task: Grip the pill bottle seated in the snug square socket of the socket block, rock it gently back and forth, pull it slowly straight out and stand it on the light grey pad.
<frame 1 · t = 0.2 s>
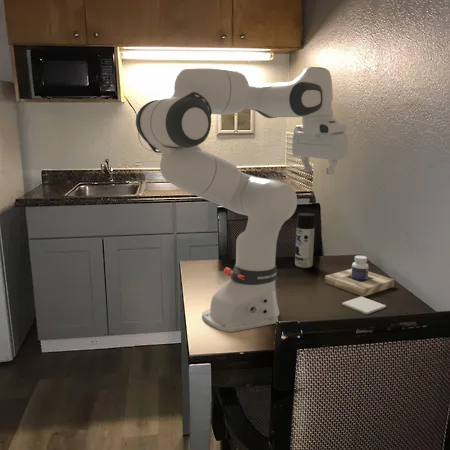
hand: (318, 172, 141), 39 cm above the table, tool pointing down, fingers open, 8 cm apart
socket block: (358, 284, 160), on the table
pill bottle: (358, 285, 160), resting in socket block
pad: (363, 305, 141), on the table
spray can: (303, 266, 180), on the table
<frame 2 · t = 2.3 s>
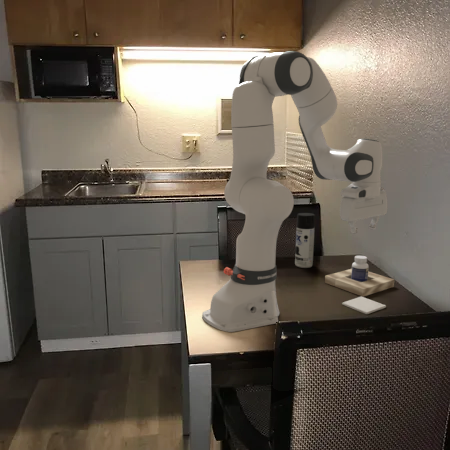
hand: (363, 231, 156), 19 cm above the table, tool pointing down, fingers open, 8 cm apart
nothing on the table moved.
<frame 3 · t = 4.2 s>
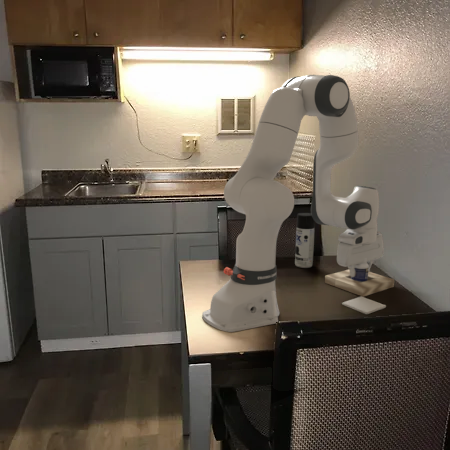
hand: (359, 274, 159), 4 cm above the table, tool pointing down, fingers closed on pill bottle, 5 cm apart
pill bottle: (358, 285, 160), resting in socket block, touching gripper
everything else where it was.
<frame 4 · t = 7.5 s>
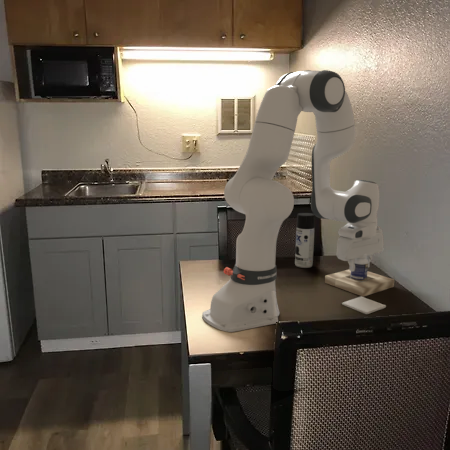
hand: (359, 269, 158), 6 cm above the table, tool pointing down, fingers closed on pill bottle, 5 cm apart
pill bottle: (358, 281, 159), point 1 cm above the table, touching gripper
everything else where it was.
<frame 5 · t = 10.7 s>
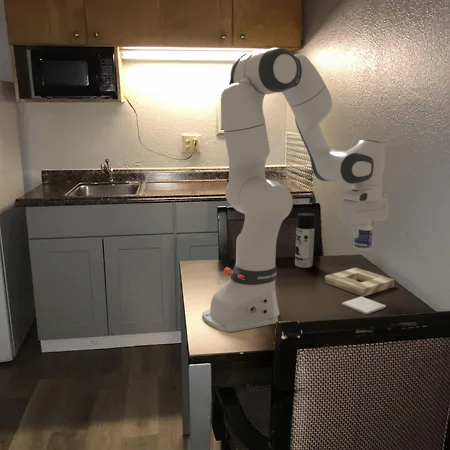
hand: (363, 236, 149), 18 cm above the table, tool pointing down, fingers closed on pill bottle, 5 cm apart
pill bottle: (362, 249, 150), point 14 cm above the table, touching gripper
everything else where it was.
when the fingers open (6 cm above the table, at t = 14.2 s): pill bottle stays where it is, resting on pad.
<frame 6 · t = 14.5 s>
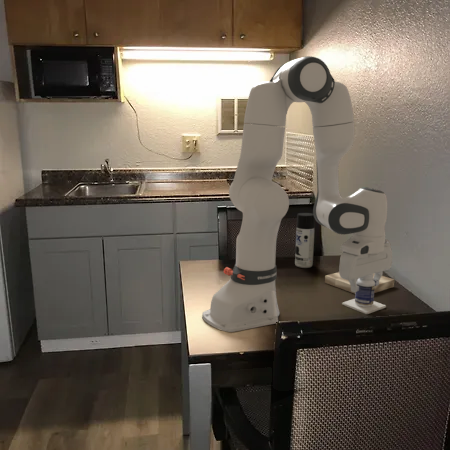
hand: (365, 288, 140), 6 cm above the table, tool pointing down, fingers open, 8 cm apart
pill bottle: (363, 304, 141), resting on pad
everything else where it was.
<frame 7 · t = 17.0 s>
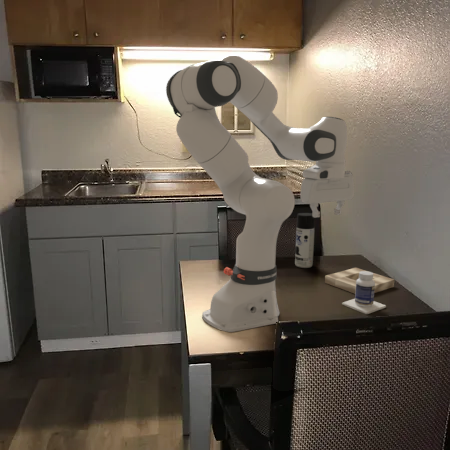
hand: (326, 215, 147), 25 cm above the table, tool pointing down, fingers open, 8 cm apart
nothing on the table moved.
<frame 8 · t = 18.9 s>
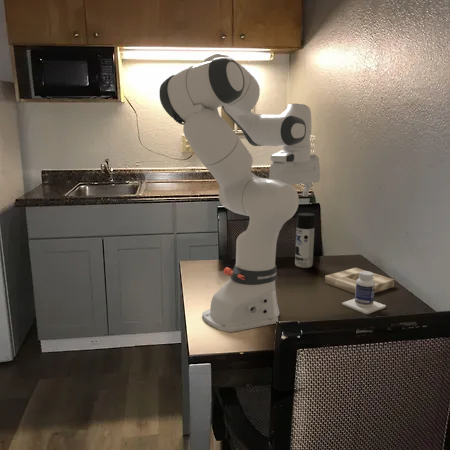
hand: (294, 197, 157), 29 cm above the table, tool pointing down, fingers open, 8 cm apart
nothing on the table moved.
at the end: pill bottle inside the target area on the pad (0.0 cm from its centre), point 0.4 cm above the pad's base; pill bottle tilted 0°; the gripper is holding nothing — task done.
